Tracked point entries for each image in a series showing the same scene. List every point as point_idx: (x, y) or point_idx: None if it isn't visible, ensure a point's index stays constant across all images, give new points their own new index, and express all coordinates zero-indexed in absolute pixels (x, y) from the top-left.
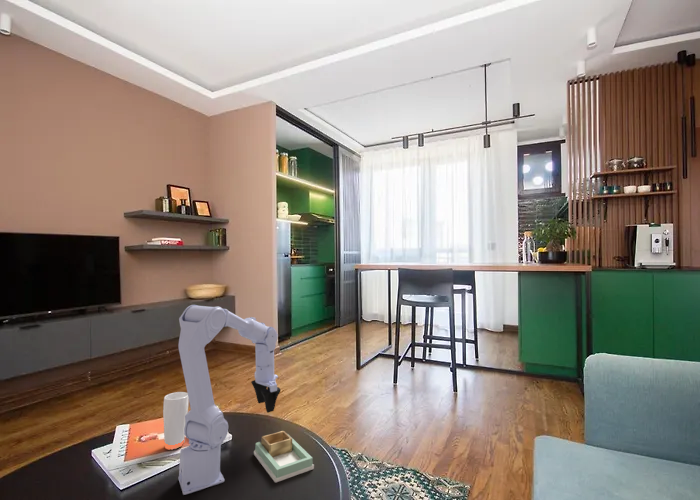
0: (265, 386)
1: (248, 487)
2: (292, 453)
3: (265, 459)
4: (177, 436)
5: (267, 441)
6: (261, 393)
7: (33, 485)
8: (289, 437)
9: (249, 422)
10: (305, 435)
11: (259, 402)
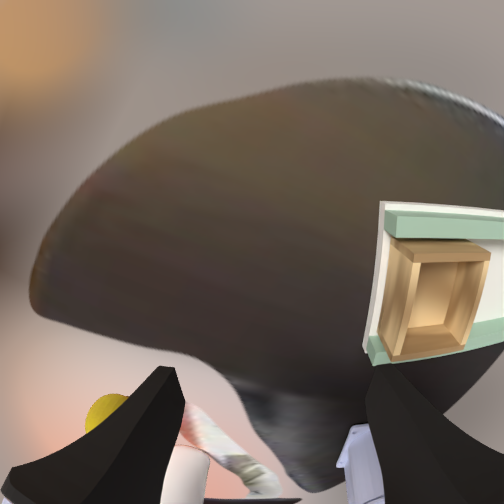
0: (115, 480)
1: (468, 375)
2: (471, 241)
3: None
4: (205, 481)
5: (439, 350)
6: (152, 448)
7: None
8: (478, 258)
9: (97, 276)
10: (348, 94)
11: (182, 403)
